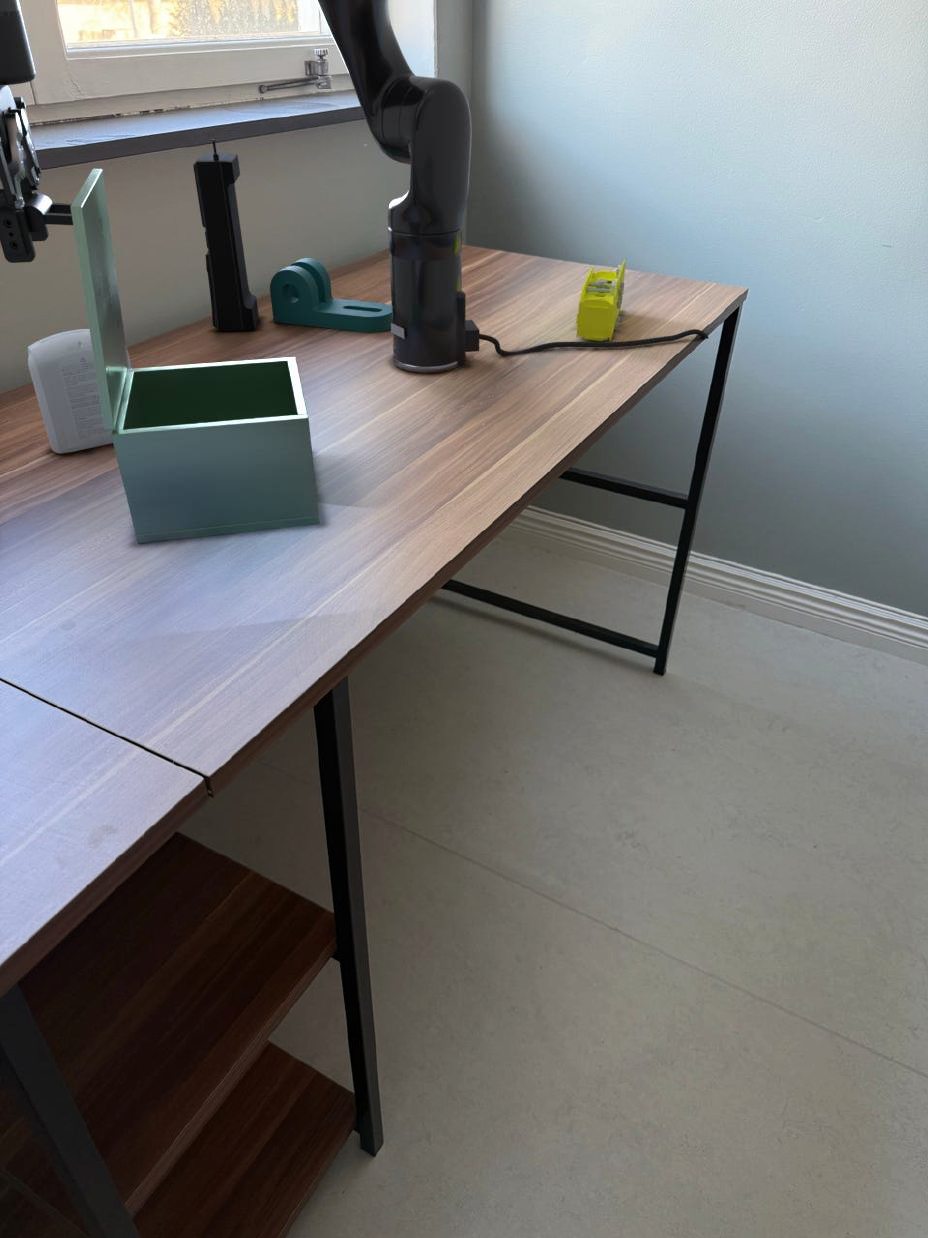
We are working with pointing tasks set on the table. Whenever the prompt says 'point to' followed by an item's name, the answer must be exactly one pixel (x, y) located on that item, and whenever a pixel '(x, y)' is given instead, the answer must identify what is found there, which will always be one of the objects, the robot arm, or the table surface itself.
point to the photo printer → (68, 391)
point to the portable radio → (224, 242)
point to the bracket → (321, 301)
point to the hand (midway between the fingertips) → (29, 249)
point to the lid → (93, 281)
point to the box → (215, 449)
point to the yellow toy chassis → (600, 304)
